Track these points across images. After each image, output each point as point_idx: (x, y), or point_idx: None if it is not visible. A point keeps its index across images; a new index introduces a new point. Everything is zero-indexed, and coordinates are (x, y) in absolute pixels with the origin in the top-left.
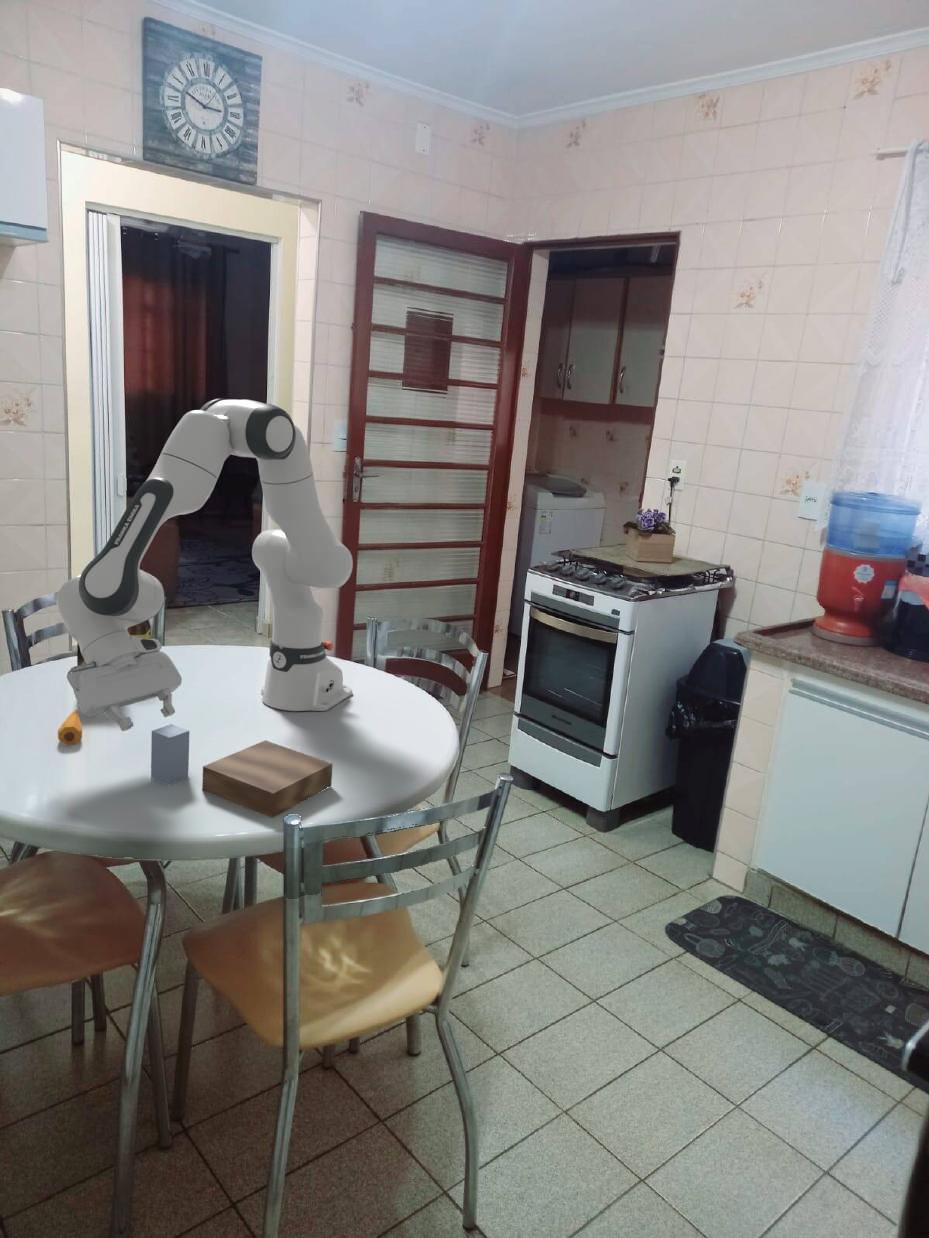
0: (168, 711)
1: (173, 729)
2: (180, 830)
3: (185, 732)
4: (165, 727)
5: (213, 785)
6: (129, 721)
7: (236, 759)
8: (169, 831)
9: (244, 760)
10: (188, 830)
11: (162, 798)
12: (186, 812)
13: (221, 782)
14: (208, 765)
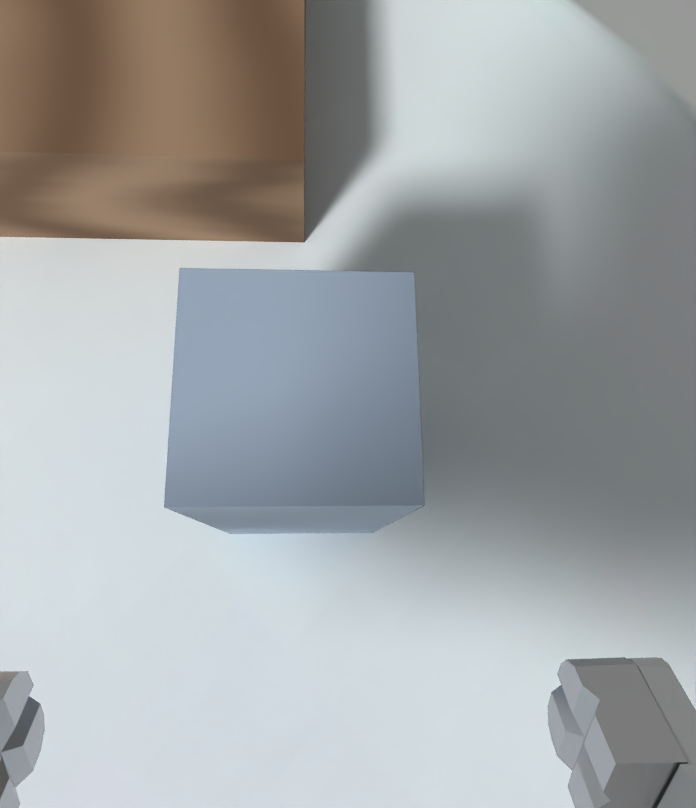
0: (9, 688)
1: (255, 388)
2: (609, 75)
3: (230, 270)
4: (269, 480)
5: (304, 147)
6: (625, 698)
7: (99, 89)
8: (643, 98)
9: (80, 52)
10: (587, 56)
11: (486, 313)
12: (499, 152)
13: (304, 77)
14: (272, 147)
